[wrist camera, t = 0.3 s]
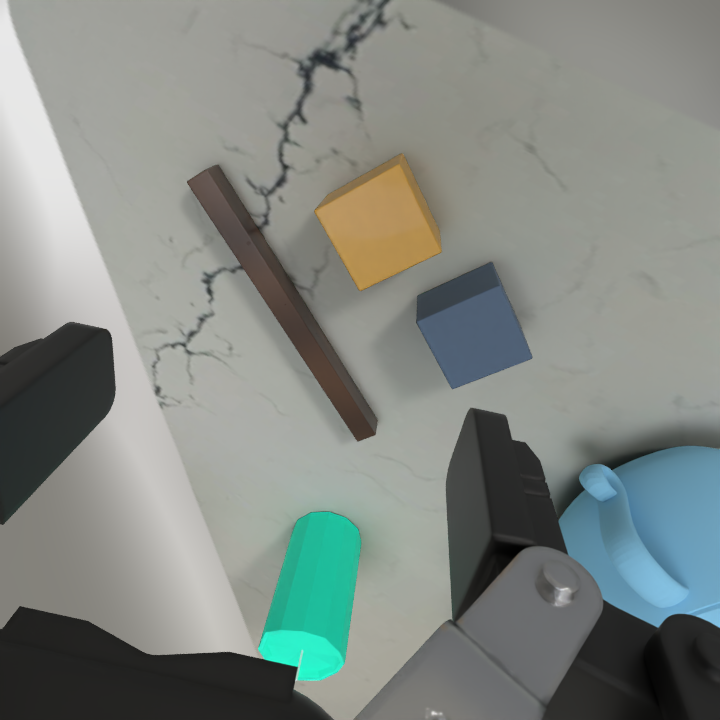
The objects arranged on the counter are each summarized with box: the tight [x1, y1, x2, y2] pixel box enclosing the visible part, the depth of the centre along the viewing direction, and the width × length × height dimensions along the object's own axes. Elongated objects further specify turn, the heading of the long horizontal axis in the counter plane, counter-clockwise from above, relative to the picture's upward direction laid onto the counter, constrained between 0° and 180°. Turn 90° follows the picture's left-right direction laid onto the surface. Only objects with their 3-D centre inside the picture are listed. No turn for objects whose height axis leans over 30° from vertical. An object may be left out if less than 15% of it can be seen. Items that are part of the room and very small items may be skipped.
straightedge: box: [187, 165, 378, 441], centre depth 33 cm, size 20×2×2 cm, turn 29°
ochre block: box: [314, 154, 442, 291], centre depth 28 cm, size 5×5×4 cm
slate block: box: [416, 262, 532, 389], centre depth 31 cm, size 5×5×4 cm
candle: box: [258, 512, 361, 681], centre depth 39 cm, size 6×6×12 cm
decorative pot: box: [558, 446, 720, 628], centre depth 33 cm, size 16×16×14 cm
